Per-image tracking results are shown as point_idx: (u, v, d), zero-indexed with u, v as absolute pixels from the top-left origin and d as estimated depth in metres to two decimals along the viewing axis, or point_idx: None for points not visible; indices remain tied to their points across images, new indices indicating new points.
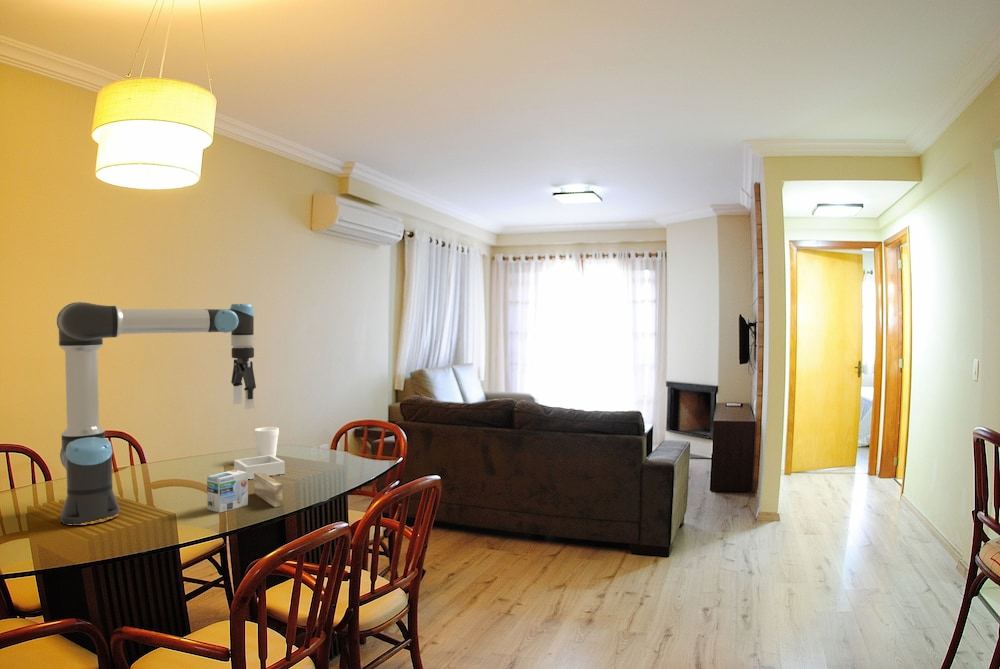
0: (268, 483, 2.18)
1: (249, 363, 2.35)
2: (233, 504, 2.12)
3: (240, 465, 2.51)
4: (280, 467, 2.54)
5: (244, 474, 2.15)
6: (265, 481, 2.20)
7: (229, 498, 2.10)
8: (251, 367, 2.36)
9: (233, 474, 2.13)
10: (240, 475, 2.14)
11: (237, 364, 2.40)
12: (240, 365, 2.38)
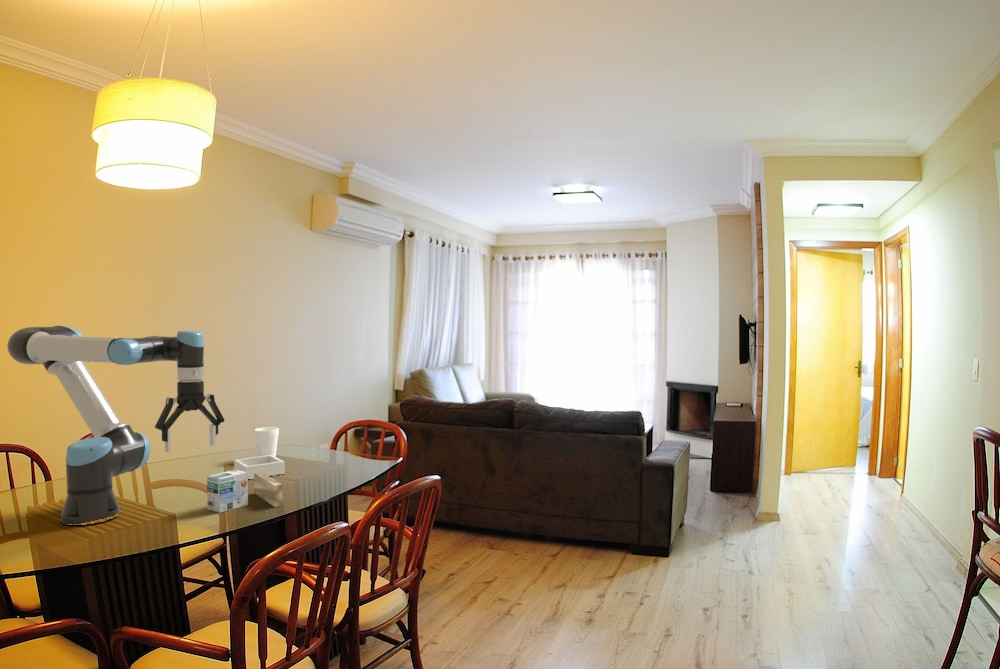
0: (268, 483, 2.18)
1: (167, 399, 2.04)
2: (233, 504, 2.12)
3: (240, 465, 2.51)
4: (280, 467, 2.54)
5: (244, 474, 2.15)
6: (265, 481, 2.20)
7: (229, 498, 2.10)
8: (168, 405, 2.03)
9: (233, 474, 2.13)
10: (240, 475, 2.14)
11: None
12: None
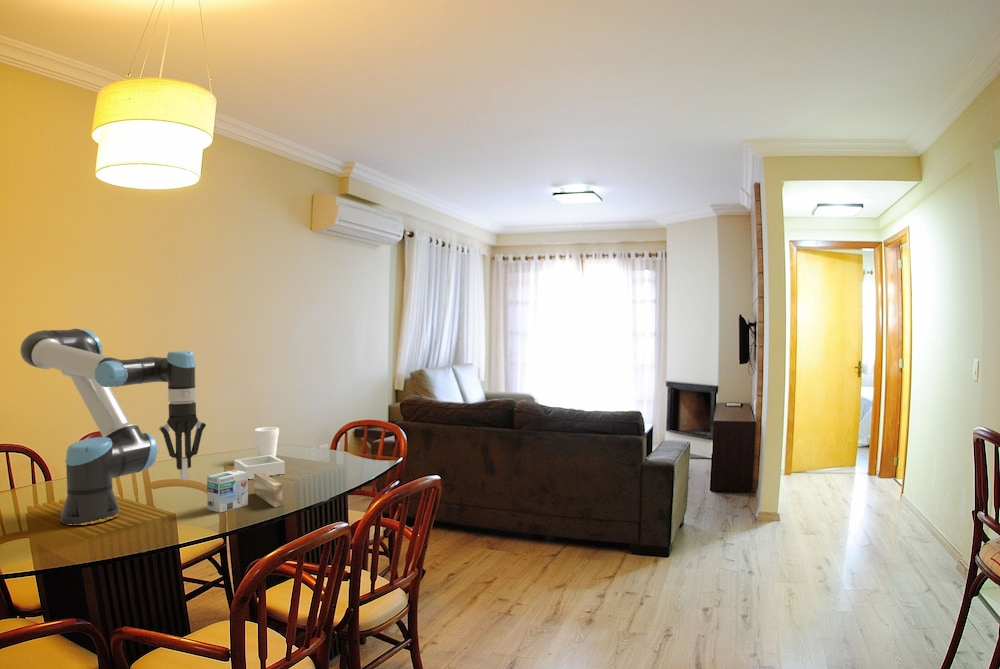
0: (268, 483, 2.18)
1: (160, 430, 2.01)
2: (233, 504, 2.12)
3: (240, 465, 2.51)
4: (280, 467, 2.54)
5: (244, 474, 2.15)
6: (265, 481, 2.20)
7: (229, 498, 2.10)
8: (164, 434, 2.01)
9: (233, 474, 2.13)
10: (240, 475, 2.14)
11: None
12: None
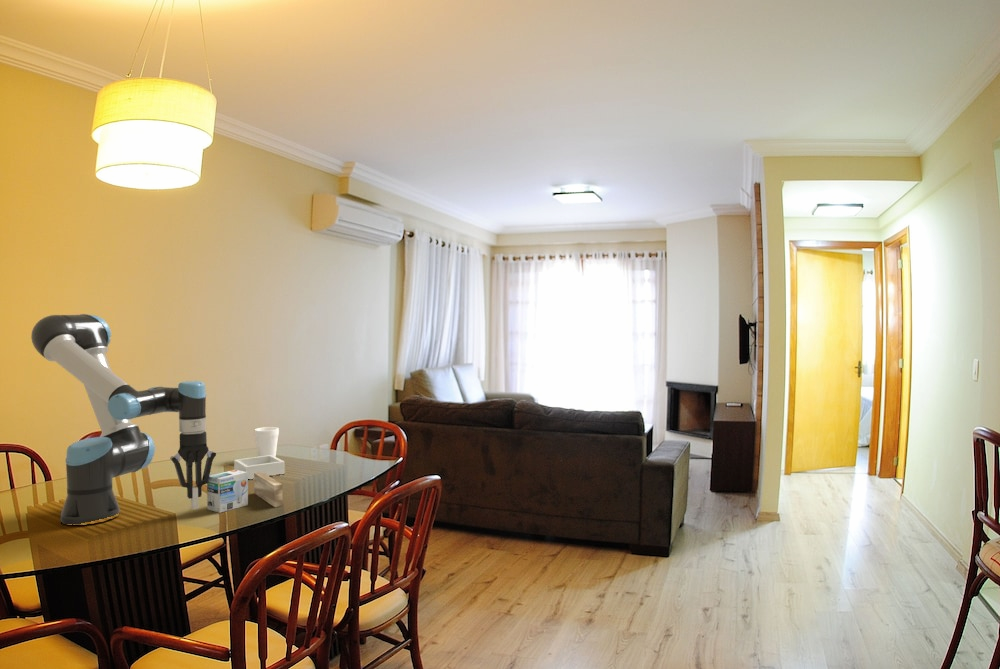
0: (268, 483, 2.18)
1: None
2: (233, 504, 2.12)
3: (240, 465, 2.51)
4: (280, 467, 2.54)
5: (244, 474, 2.15)
6: (265, 481, 2.20)
7: (229, 498, 2.10)
8: (175, 464, 2.03)
9: (233, 474, 2.13)
10: (240, 475, 2.14)
11: None
12: None
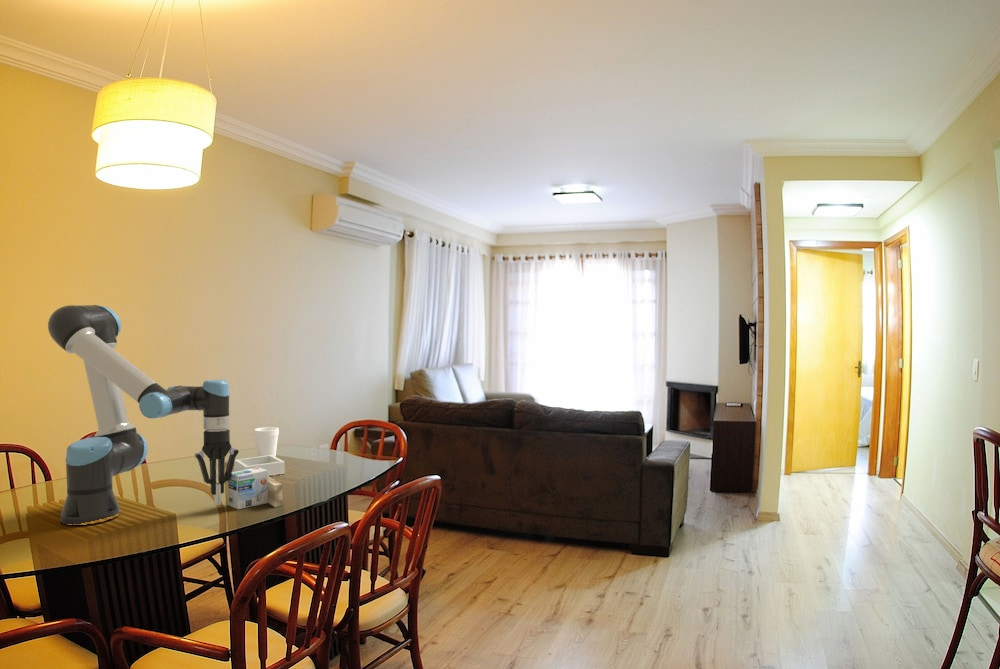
0: (268, 483, 2.18)
1: None
2: (252, 502, 2.14)
3: (240, 465, 2.51)
4: (280, 467, 2.54)
5: (264, 472, 2.17)
6: None
7: (247, 495, 2.13)
8: (199, 461, 2.07)
9: (253, 472, 2.16)
10: (260, 473, 2.16)
11: None
12: None
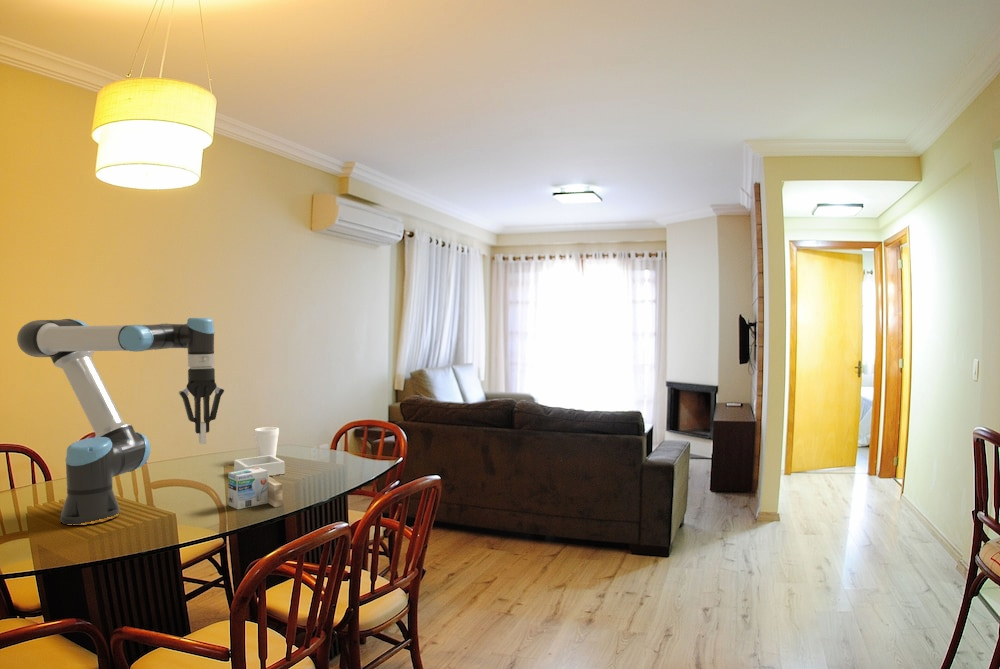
0: (268, 483, 2.18)
1: (180, 394, 2.05)
2: (252, 502, 2.14)
3: (240, 465, 2.51)
4: (280, 467, 2.54)
5: (264, 472, 2.17)
6: None
7: (247, 495, 2.13)
8: (183, 398, 2.05)
9: (253, 472, 2.16)
10: (260, 473, 2.16)
11: None
12: None
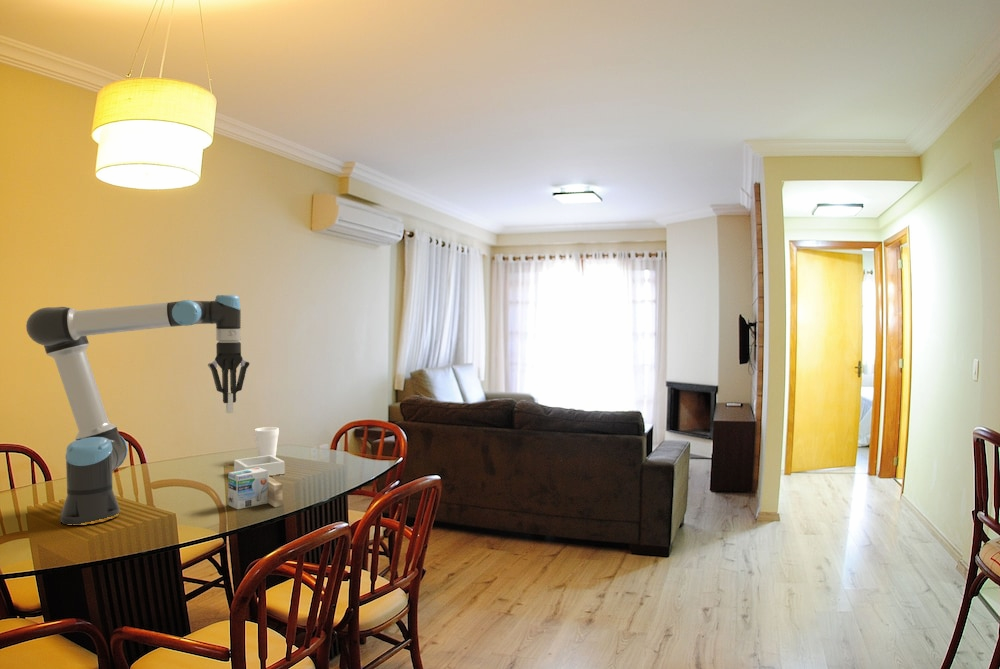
0: (268, 483, 2.18)
1: (209, 366, 2.19)
2: (252, 502, 2.14)
3: (240, 465, 2.51)
4: (280, 467, 2.54)
5: (264, 472, 2.17)
6: None
7: (247, 495, 2.13)
8: (212, 370, 2.19)
9: (253, 472, 2.16)
10: (260, 473, 2.16)
11: None
12: None
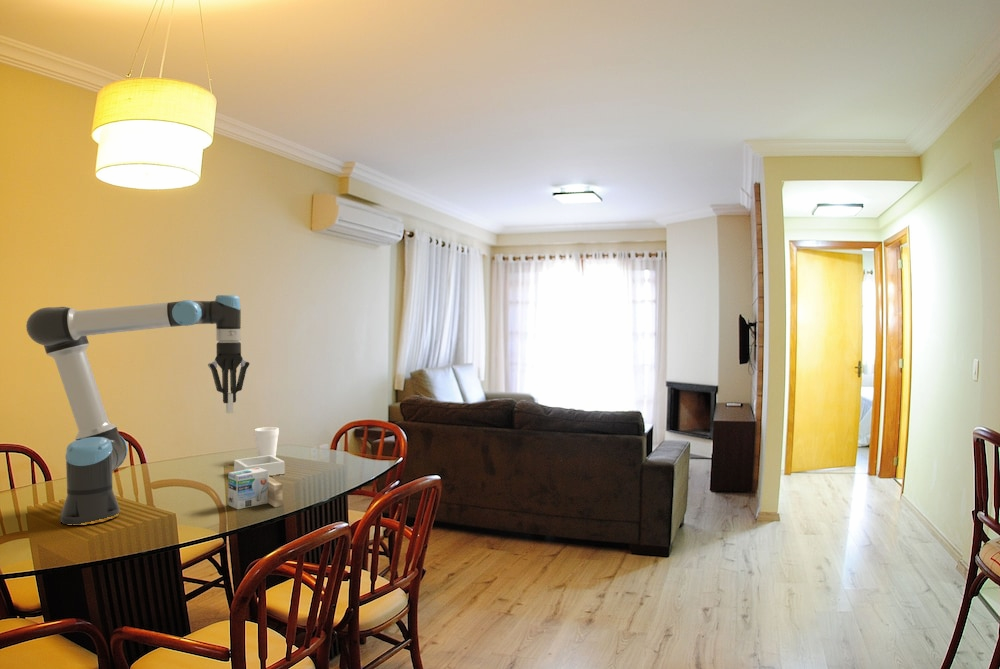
0: (268, 483, 2.18)
1: (209, 366, 2.19)
2: (252, 502, 2.14)
3: (240, 465, 2.51)
4: (280, 467, 2.54)
5: (264, 472, 2.17)
6: None
7: (247, 495, 2.13)
8: (212, 370, 2.19)
9: (253, 472, 2.16)
10: (260, 473, 2.16)
11: None
12: None
